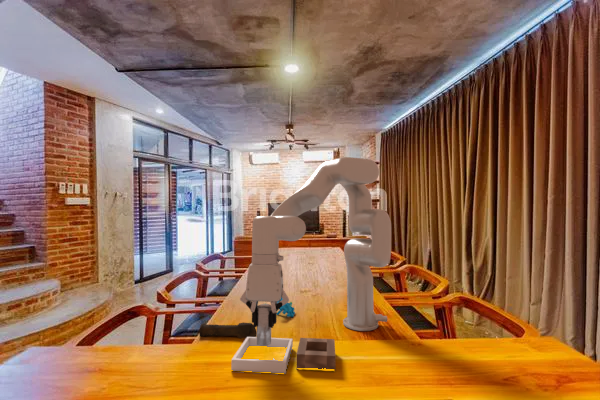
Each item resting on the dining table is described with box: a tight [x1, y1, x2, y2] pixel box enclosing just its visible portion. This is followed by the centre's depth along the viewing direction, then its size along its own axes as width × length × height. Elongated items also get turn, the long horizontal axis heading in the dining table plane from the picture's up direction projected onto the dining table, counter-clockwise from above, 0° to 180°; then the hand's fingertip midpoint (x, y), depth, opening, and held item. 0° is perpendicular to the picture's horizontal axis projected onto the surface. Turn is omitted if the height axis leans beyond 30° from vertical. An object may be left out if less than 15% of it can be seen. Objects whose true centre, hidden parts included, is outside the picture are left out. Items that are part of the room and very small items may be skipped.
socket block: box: [296, 337, 336, 370], centre depth 77 cm, size 10×10×4 cm
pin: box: [256, 303, 272, 346], centre depth 78 cm, size 4×4×10 cm
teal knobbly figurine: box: [277, 297, 296, 318], centre depth 114 cm, size 11×6×10 cm
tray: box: [230, 336, 294, 375], centre depth 78 cm, size 14×14×3 cm
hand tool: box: [198, 322, 257, 339], centre depth 93 cm, size 19×4×5 cm, turn 83°
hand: (264, 325), depth 78 cm, fingers closed on pin, 4 cm apart
